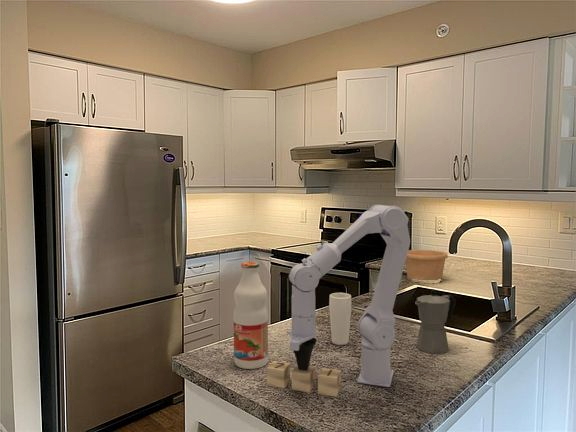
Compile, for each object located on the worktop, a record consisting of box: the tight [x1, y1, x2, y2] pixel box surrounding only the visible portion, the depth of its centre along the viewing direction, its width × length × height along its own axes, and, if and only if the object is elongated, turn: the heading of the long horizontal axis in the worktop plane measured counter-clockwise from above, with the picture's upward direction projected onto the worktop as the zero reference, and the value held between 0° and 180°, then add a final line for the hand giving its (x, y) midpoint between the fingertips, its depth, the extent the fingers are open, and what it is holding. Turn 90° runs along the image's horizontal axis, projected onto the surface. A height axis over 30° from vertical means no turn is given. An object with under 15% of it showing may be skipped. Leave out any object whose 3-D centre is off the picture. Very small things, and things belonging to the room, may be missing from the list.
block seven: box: [266, 360, 291, 389], centre depth 108 cm, size 4×4×5 cm
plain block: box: [291, 364, 316, 393], centre depth 106 cm, size 4×4×4 cm
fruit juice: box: [233, 261, 269, 370], centre depth 119 cm, size 9×9×28 cm
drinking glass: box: [328, 292, 352, 346], centre depth 135 cm, size 7×7×15 cm
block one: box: [317, 367, 342, 397], centre depth 104 cm, size 4×4×5 cm
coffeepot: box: [414, 288, 457, 355], centre depth 130 cm, size 15×9×18 cm, turn 115°
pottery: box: [405, 249, 449, 281], centre depth 222 cm, size 22×22×14 cm
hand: (303, 368), depth 106 cm, fingers closed
